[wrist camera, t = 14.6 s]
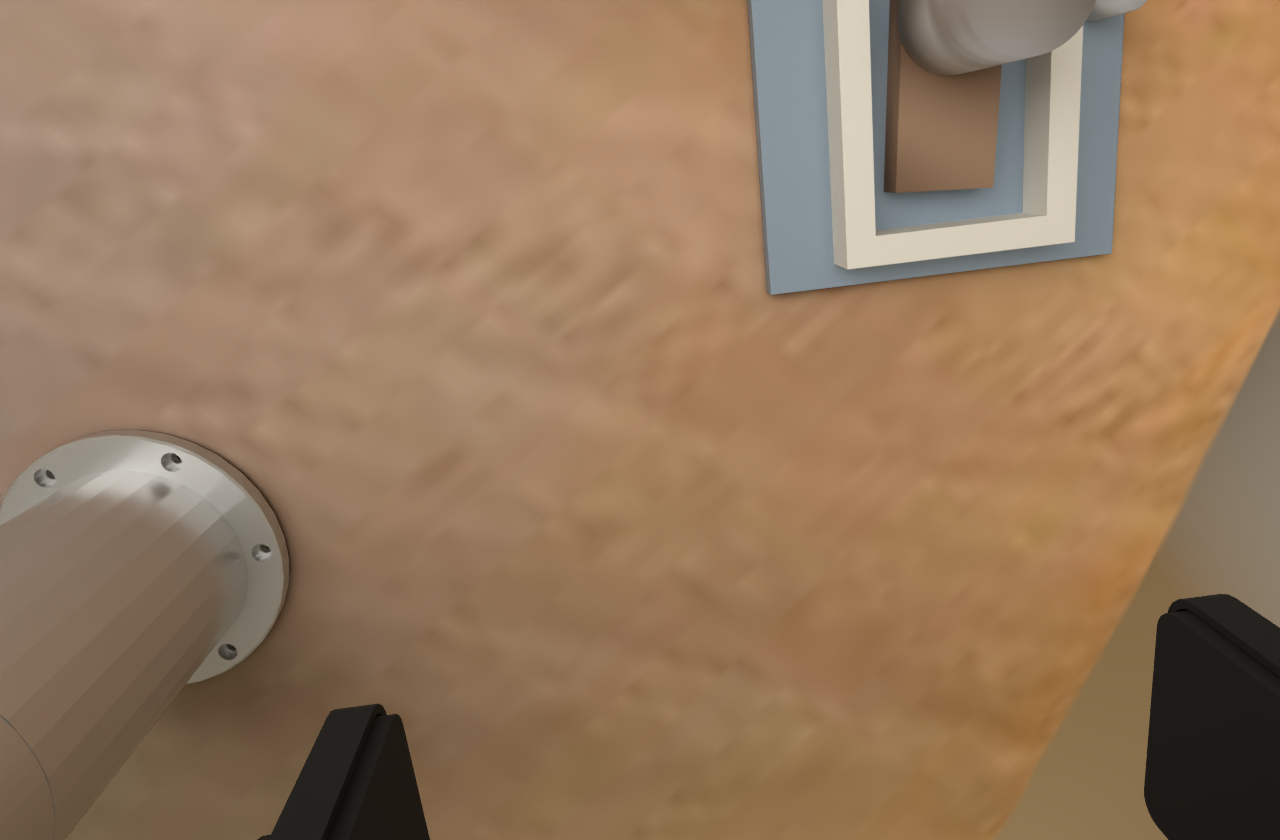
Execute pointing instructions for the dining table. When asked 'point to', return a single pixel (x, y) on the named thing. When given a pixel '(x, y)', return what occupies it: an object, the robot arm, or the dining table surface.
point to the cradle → (928, 220)
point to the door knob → (959, 83)
